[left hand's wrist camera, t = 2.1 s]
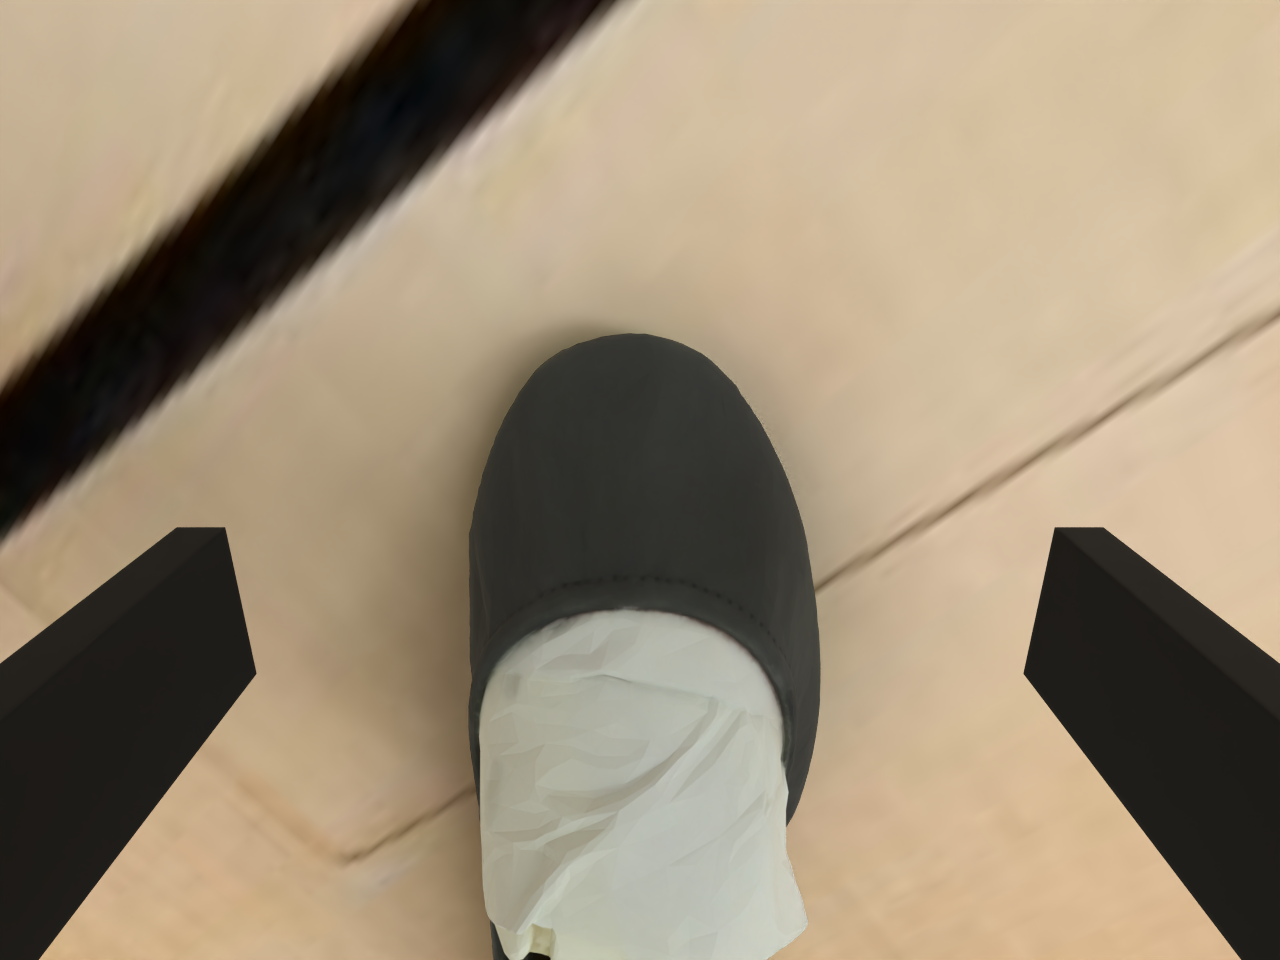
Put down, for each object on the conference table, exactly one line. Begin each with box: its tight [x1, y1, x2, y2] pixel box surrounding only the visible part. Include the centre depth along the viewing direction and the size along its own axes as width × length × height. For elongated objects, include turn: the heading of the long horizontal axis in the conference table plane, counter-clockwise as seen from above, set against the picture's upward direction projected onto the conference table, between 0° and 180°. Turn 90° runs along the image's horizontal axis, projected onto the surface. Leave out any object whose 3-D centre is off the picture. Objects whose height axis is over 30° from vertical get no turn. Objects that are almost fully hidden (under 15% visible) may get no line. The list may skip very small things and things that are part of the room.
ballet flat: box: [469, 333, 820, 960], centre depth 18 cm, size 8×24×8 cm, turn 0°
